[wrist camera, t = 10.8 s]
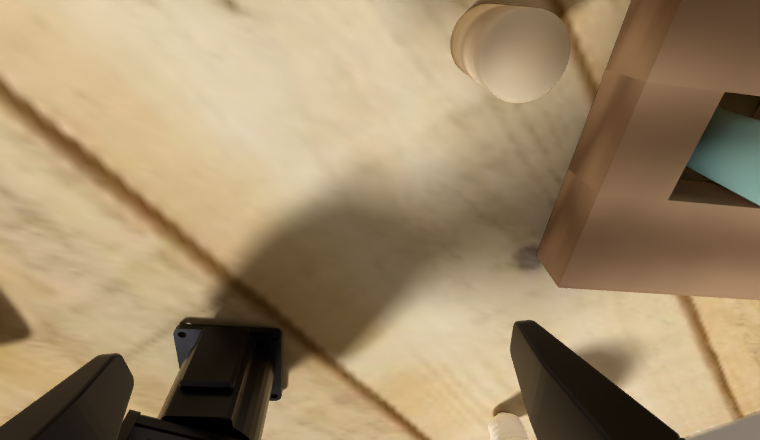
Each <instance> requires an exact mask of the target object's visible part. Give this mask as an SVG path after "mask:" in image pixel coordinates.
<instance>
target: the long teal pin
mask: <svg viewBox="0 0 760 440" xmlns="http://www.w3.org/2000/svg"><path fill="white" fill-rule="evenodd" d="M686 167H688V168H690V169H692V170H694V171H696V172H698V173H700V174H701V175H703V176H705V177H707V178H709V179H711V180H713V181H714V182H716V183H718V184H720V185H722V186H724V187H726V188H728V189H729V190H731V191H733V192H735V193H737V194H739V195H741V196H742V197H744V198H746V199H748V200H750V201H752V202H754V203H756V204H757V205H759V206H760V120H757V119H754V118H750V117H747V116H744V115H741V114H738V113H735V112H732V111H729V110H726V109H723V108H720V107H717V108H716V110H715V112H714V114H713V115H712V117H711V119H710V121H709V123H708V125H707V127H706V129H705V131H704V133H703V134H702V136H701V138H700V140H699V142H698V144H697V146H696V148H695V150H694V151H693V153H692V155H691V157H690V159H689V161H688V163H687V165H686Z"/></svg>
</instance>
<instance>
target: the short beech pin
mask: <svg viewBox="0 0 760 440" xmlns="http://www.w3.org/2000/svg"><path fill="white" fill-rule="evenodd" d="M451 54H452V57H453V60H454V62H455V64H456V65H457V66H458V68H459V69H460V70H461V71H463V72H464V73H465V74H467V75H468V76H469V77H471V78H472V79H474V80H475V81H476V82H478V83H479V84H480V85H482V86H483V87H484V88H486V89H487V90H488V91H490V92H491V93H492V94H494V95H495V96H496V97H498V98H499V99H501V100H503V101H506V102H510V103H525V102H529V101H532V100H535V99H537V98H539V97H541V96H542V95H544V94H545V93H547V92H548V91H549V90H550V89H551V88H552V87H553V86H554V85H555V84H556V83H557V82H558V81H559V79H560V78H561V76H562V74H563V72H564V71H565V68H566V66H567V63H568V60H569V55H570V38H569V34H568V31H567V29H566V27H565V25H564V23H563V22H562V21H561V19H560V18H559V17H558V16H556V15H555V14H554V13H552V12H550V11H548V10H546V9H541V8H533V7H523V6H512V5H501V4H490V3H487V4H481V5H477V6H475V7H473V8H471V9H470V10H468V11H467V12H466V13H465V14H463V15H462V17H461V18H460V19H459V20H458V22H457V23H456V25H455V27H454V30H453V32H452V36H451Z"/></svg>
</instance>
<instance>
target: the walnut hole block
mask: <svg viewBox="0 0 760 440" xmlns="http://www.w3.org/2000/svg"><path fill="white" fill-rule="evenodd" d="M725 92H730V93H738V94H747V95H755V96H760V0H632V1H631V3H630V6H629V9H628V11H627V14H626V17H625V19H624V22H623V25H622V27H621V30H620V33H619V35H618V38H617V41H616V43H615V46H614V49H613V51H612V54H611V57H610V59H609V62H608V65H607V67H606V70H605V73H604V75H603V78H602V81H601V83H600V86H599V89H598V91H597V94H596V97H595V99H594V102H593V105H592V107H591V110H590V113H589V115H588V118H587V121H586V123H585V126H584V129H583V131H582V134H581V137H580V139H579V142H578V145H577V147H576V150H575V153H574V155H573V158H572V161H571V163H570V166H569V169H568V171H567V174H566V177H565V179H564V182H563V185H562V187H561V190H560V193H559V195H558V198H557V201H556V203H555V206H554V209H553V211H552V214H551V217H550V219H549V222H548V225H547V227H546V230H545V233H544V235H543V238H542V241H541V243H540V246H539V249H538V251H537V254H536V256H537V257H538V258H539V260H540V261H541V263H542V264H543V266H544V267H545V269H546V270H547V272H548V273H549V274H550V276H551V277H552V279H553V280H554V282H555V283H556V285H557V286H558V287H560V288H576V289H591V290H607V291H623V292H639V293H655V294H670V295H686V296H702V297H718V298H734V299H750V300H760V206H759V205H757V204H756V203H754V202H752V201H750V200H748V199H746V198H744V197H742V196H741V195H739V194H737V193H735V192H733V191H731V190H729V189H728V188H726V187H724V186H722V185H720V184H718V183H716V182H715V183H708V182H698V181H687V180H679V178H680V176H681V174H682V172H683V170H684V169H685V167H686V165H687V163H688V161H689V159H690V157H691V155H692V153H693V151H694V150H695V148H696V146H697V144H698V142H699V140H700V138H701V136H702V134H703V133H704V131H705V129H706V127H707V125H708V123H709V121H710V119H711V117H712V115H713V114H714V112H715V110H716V108H717V106H718V104H719V102H720V100H721V98H722V96H723V95H724V93H725ZM752 118H754V119H757V120H760V105H759V106H758V108H757V110H756V112H755V113H754V115H753V117H752Z"/></svg>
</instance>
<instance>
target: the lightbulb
mask: <svg viewBox="0 0 760 440" xmlns="http://www.w3.org/2000/svg"><path fill="white" fill-rule="evenodd" d="M488 429H489V433H490V438H491V440H529V438H528V436H527V433H526V431H525V429H524V426H523V425H522V423H521V420H520V419H519V417H517V416H516V415H514V414H510V413H505V412H501V413H498V414H497V415H496V416H495V417H494V418H492V419H491V420H490V422H489V425H488Z"/></svg>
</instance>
